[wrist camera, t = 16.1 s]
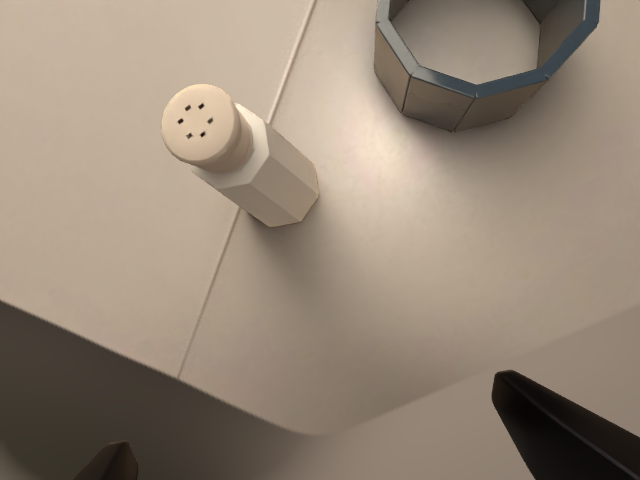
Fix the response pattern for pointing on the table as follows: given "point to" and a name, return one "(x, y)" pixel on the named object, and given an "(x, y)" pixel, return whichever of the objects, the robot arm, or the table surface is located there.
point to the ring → (466, 98)
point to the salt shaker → (239, 155)
